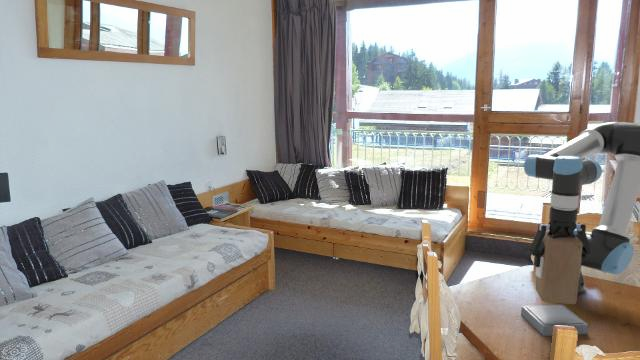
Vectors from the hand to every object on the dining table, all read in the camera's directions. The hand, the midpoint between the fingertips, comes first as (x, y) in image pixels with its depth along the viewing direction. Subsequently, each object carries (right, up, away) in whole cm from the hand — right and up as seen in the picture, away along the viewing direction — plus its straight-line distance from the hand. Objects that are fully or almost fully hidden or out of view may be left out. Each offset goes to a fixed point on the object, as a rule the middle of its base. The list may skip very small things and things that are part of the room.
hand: (557, 276), depth 153 cm
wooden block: (0, -7, +1) cm, 7 cm away
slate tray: (0, -16, +3) cm, 16 cm away
